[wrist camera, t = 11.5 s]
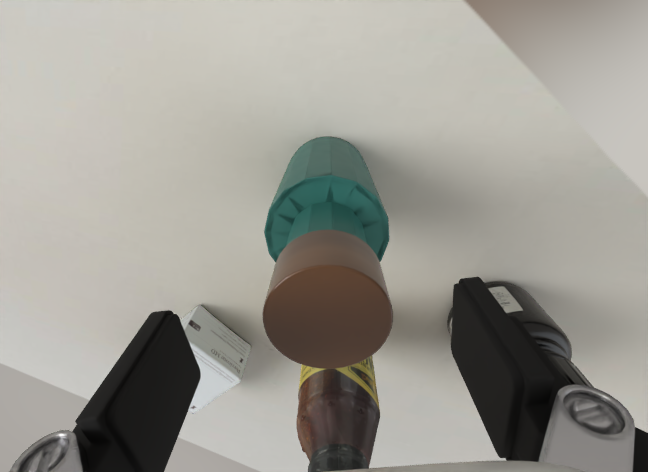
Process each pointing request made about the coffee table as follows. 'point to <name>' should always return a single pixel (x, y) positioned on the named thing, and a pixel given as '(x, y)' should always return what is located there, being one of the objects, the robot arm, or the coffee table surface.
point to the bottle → (327, 197)
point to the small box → (214, 356)
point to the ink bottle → (537, 328)
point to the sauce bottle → (338, 416)
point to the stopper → (327, 301)
